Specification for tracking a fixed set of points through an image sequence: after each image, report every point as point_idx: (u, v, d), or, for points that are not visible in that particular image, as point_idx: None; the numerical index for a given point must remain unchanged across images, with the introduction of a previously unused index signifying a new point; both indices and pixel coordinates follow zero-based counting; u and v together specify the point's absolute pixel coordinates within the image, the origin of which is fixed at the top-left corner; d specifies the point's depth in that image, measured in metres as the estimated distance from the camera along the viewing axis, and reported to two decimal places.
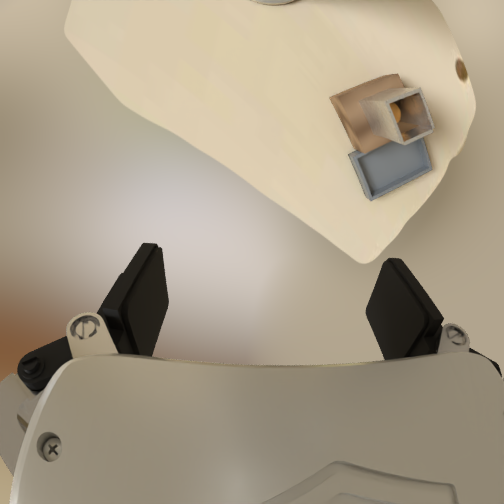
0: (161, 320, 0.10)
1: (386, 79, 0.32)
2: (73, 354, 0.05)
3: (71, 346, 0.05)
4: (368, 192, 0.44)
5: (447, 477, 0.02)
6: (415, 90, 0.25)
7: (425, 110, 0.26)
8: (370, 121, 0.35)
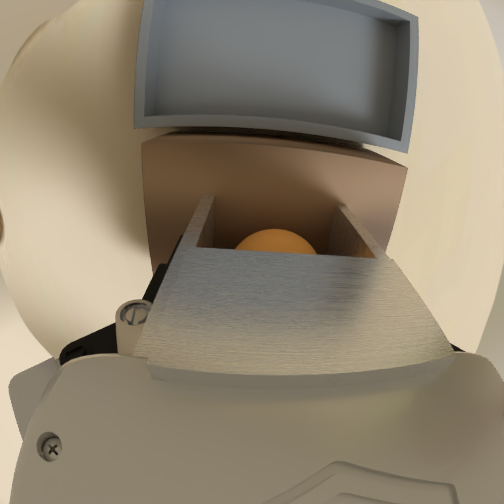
0: None
1: None
2: (118, 338, 0.06)
3: (117, 329, 0.06)
4: (415, 39, 0.09)
5: (447, 477, 0.02)
6: None
7: None
8: None
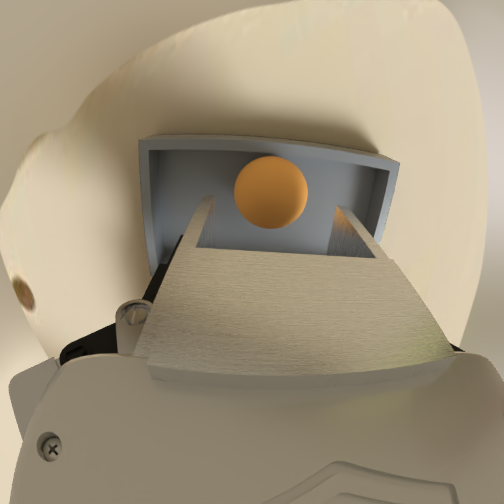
0: None
1: None
2: (118, 338, 0.06)
3: (118, 329, 0.06)
4: (390, 189, 0.15)
5: (447, 477, 0.02)
6: None
7: None
8: None
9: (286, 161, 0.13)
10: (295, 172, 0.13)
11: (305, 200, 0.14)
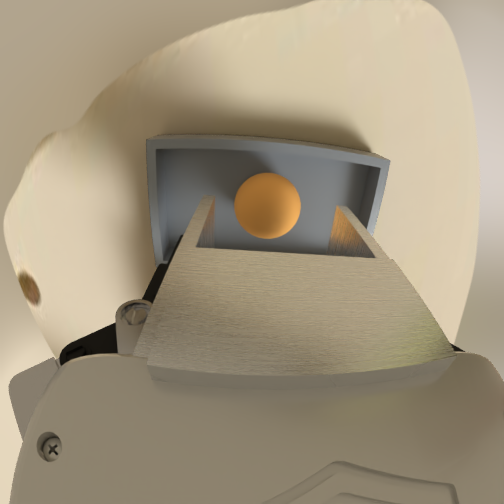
0: None
1: None
2: (118, 338, 0.06)
3: (118, 329, 0.06)
4: (381, 185, 0.16)
5: (447, 477, 0.02)
6: None
7: None
8: None
9: (282, 190, 0.15)
10: (289, 204, 0.15)
11: (296, 220, 0.16)
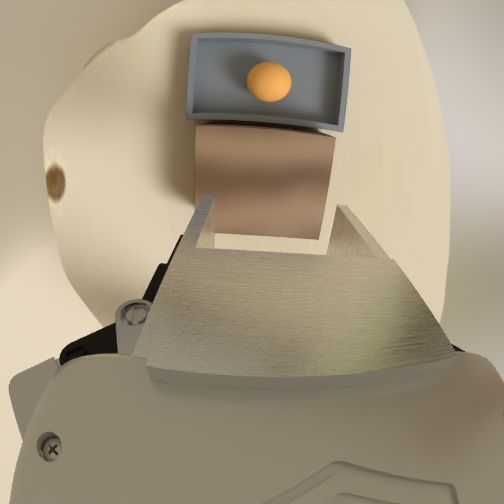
0: None
1: (223, 230, 0.26)
2: (118, 338, 0.06)
3: (118, 329, 0.06)
4: (347, 63, 0.20)
5: (447, 477, 0.02)
6: None
7: None
8: None
9: (278, 75, 0.19)
10: (282, 83, 0.20)
11: None
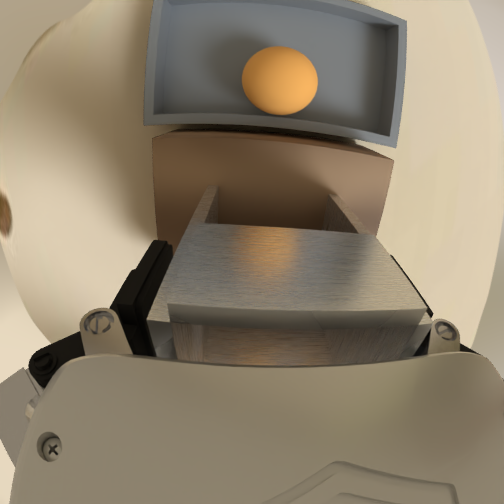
0: None
1: None
2: (85, 348, 0.05)
3: (84, 340, 0.06)
4: (403, 42, 0.10)
5: (447, 477, 0.02)
6: None
7: None
8: None
9: (295, 91, 0.11)
10: (301, 102, 0.12)
11: None
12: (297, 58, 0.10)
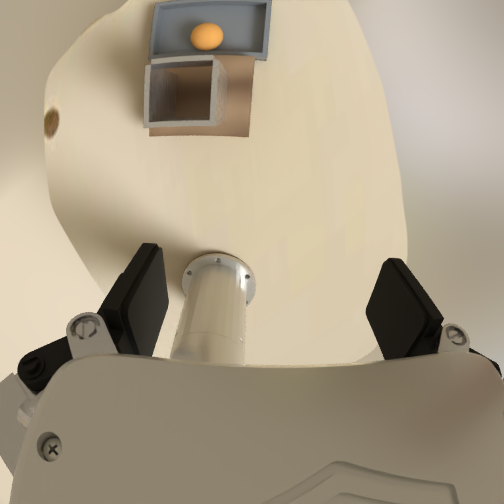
0: (161, 320, 0.10)
1: (170, 133, 0.29)
2: (73, 354, 0.05)
3: (71, 346, 0.05)
4: (269, 9, 0.23)
5: (447, 477, 0.02)
6: (154, 125, 0.20)
7: (149, 92, 0.19)
8: (226, 91, 0.26)
9: (209, 38, 0.24)
10: (213, 42, 0.24)
11: (220, 43, 0.25)
12: (210, 26, 0.23)
